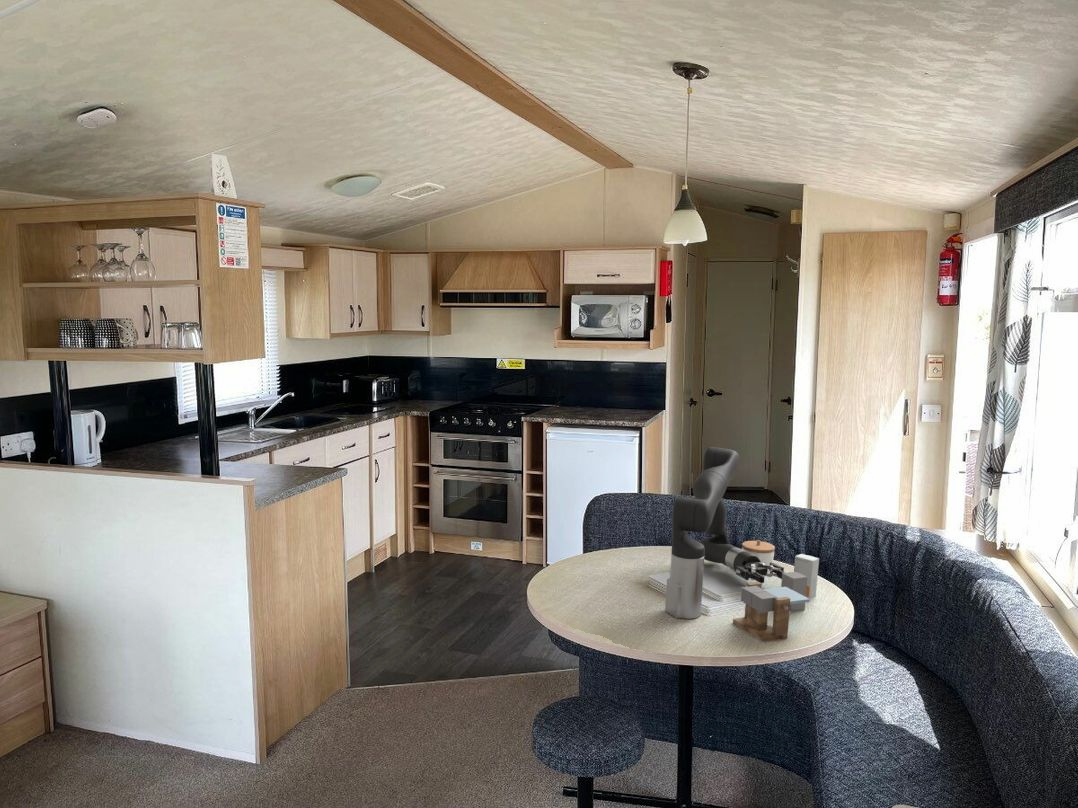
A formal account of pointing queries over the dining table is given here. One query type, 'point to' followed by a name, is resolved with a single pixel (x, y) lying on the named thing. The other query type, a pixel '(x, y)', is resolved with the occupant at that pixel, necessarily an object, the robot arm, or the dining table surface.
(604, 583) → the dining table surface
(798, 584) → the basalt block
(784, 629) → the trapdoor frame
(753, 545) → the lidded jar
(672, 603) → the robot arm
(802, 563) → the skincare box
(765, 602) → the trapdoor
